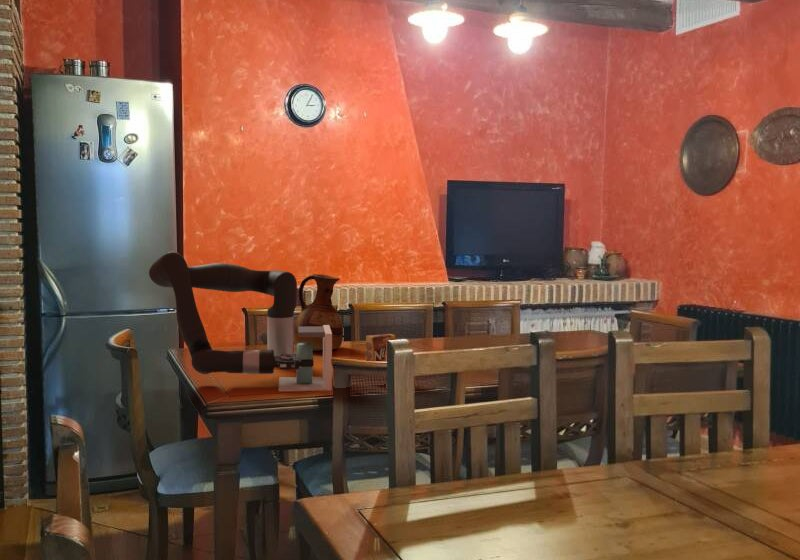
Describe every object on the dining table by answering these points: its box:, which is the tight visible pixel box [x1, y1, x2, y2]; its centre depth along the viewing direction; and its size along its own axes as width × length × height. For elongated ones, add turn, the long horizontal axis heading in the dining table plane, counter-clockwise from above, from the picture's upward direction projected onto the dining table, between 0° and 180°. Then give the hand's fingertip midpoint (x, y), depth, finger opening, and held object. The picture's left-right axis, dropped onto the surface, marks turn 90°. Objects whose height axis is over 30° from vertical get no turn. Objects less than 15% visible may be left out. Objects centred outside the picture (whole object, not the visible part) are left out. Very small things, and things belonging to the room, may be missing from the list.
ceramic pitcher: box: [294, 273, 344, 352], centre depth 300 cm, size 20×20×30 cm
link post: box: [296, 343, 314, 384], centre depth 240 cm, size 5×5×12 cm
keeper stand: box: [278, 325, 333, 392], centre depth 240 cm, size 18×16×18 cm
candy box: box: [365, 333, 396, 361], centre depth 245 cm, size 9×4×15 cm, turn 123°
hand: (313, 361), depth 240 cm, fingers closed on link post, 5 cm apart
